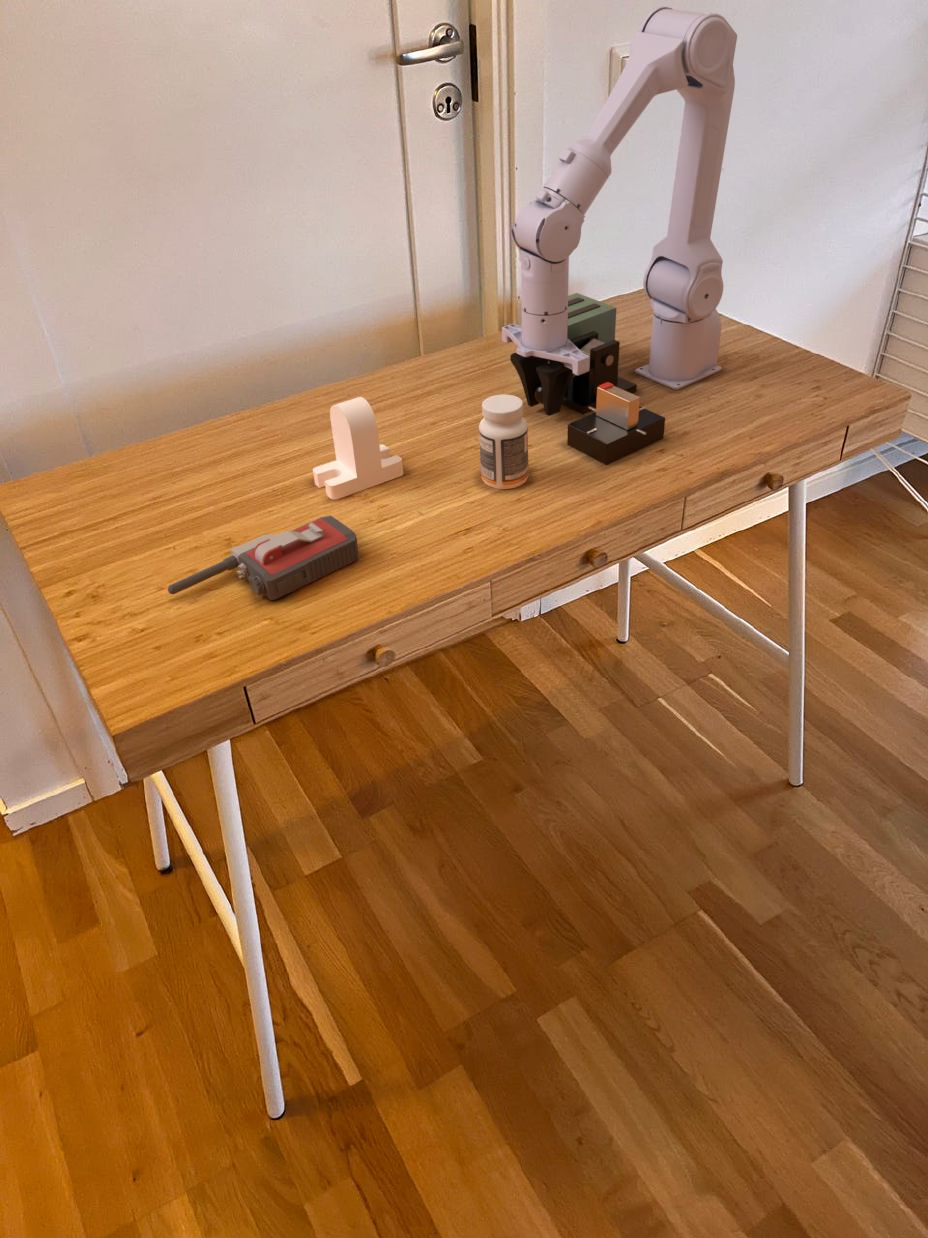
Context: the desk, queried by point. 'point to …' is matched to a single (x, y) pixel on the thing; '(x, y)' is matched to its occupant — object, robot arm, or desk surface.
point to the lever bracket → (595, 375)
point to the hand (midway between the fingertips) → (543, 408)
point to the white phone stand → (356, 452)
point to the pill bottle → (503, 442)
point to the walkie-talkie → (286, 558)
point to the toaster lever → (586, 350)
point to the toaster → (590, 318)
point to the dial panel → (614, 435)
